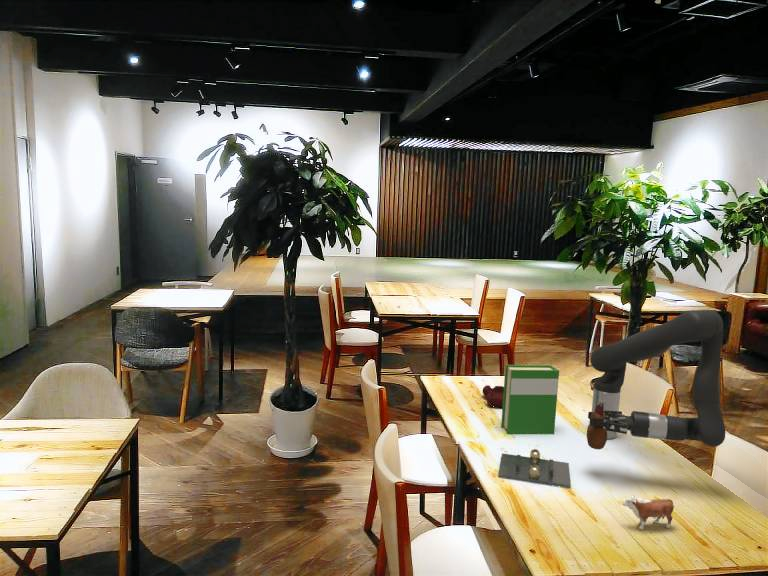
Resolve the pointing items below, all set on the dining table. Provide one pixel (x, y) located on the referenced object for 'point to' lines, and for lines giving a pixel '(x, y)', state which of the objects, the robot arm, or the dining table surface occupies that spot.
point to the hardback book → (530, 399)
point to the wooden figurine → (597, 430)
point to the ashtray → (494, 395)
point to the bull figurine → (650, 509)
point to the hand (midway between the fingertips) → (589, 418)
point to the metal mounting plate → (535, 469)
